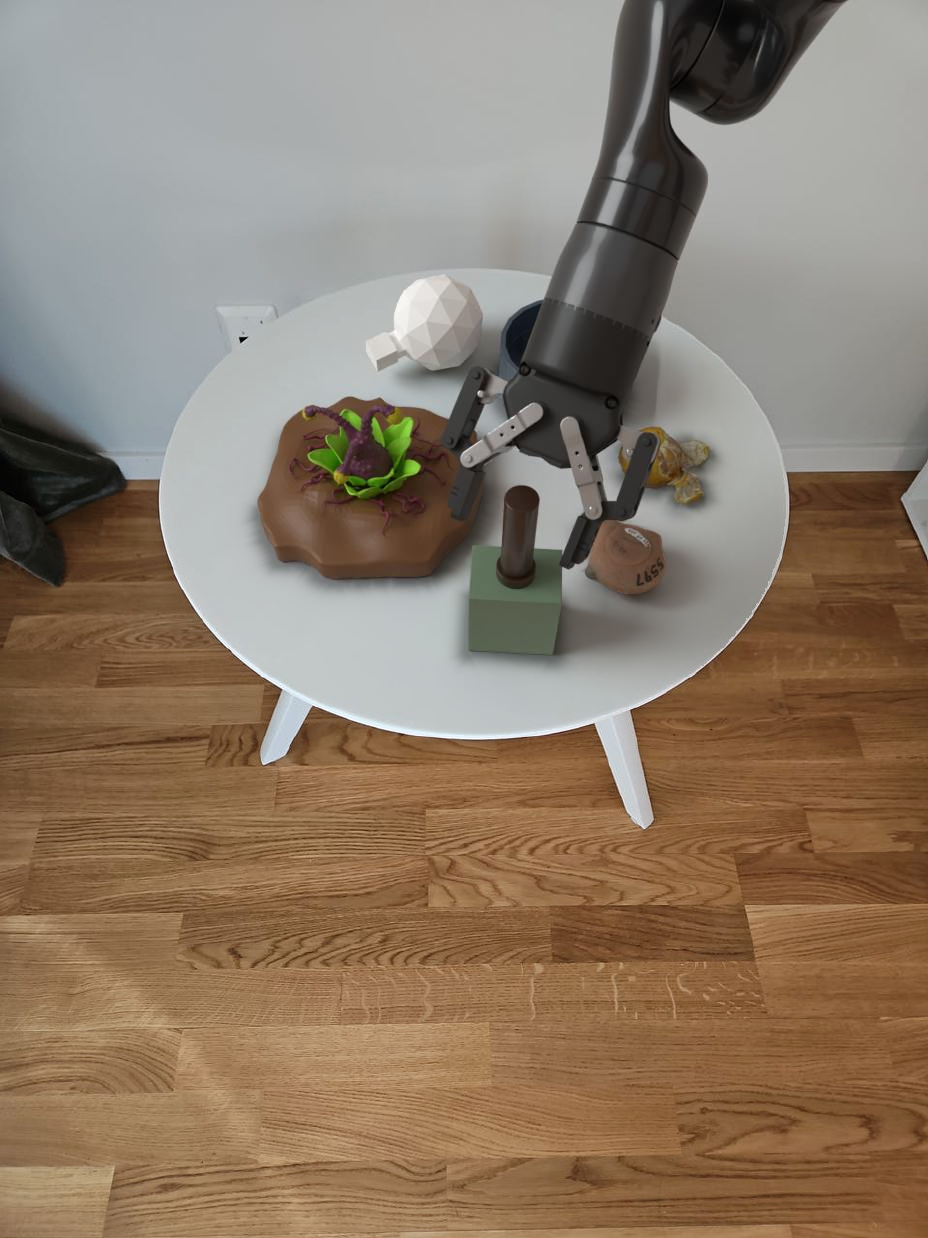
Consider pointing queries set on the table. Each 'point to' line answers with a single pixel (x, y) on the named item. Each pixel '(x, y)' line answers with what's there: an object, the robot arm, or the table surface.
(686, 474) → the fruit
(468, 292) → the perfume bottle
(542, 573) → the stand
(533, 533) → the brown cylindrical peg
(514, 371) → the bowl
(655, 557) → the oil lamp
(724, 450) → the table surface
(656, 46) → the robot arm
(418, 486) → the plant
